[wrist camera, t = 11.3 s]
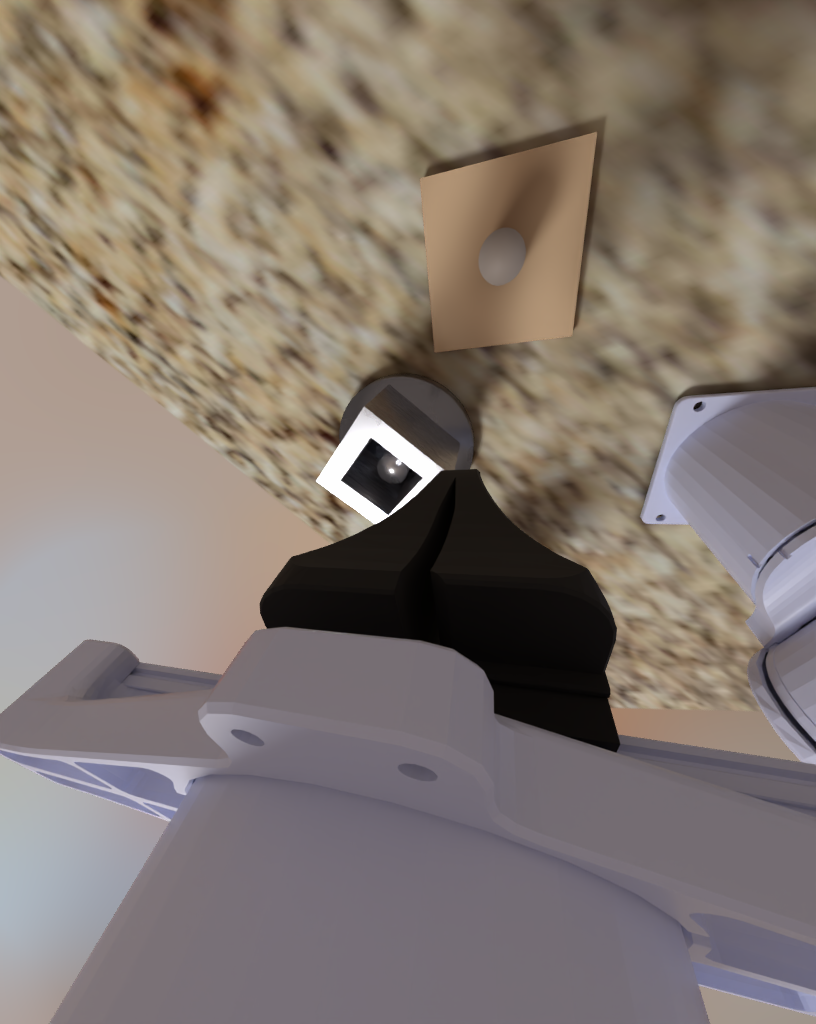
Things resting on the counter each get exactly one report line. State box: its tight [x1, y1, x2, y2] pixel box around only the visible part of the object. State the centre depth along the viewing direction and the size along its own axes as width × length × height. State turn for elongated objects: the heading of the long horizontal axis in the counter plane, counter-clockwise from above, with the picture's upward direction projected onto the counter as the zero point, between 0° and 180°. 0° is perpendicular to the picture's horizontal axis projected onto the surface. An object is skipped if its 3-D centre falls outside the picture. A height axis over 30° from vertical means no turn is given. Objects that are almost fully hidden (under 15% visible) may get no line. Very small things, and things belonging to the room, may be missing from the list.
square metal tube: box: [316, 384, 461, 524], centre depth 19 cm, size 6×6×4 cm
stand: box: [420, 132, 597, 353], centre depth 14 cm, size 7×7×4 cm
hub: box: [339, 374, 474, 484], centre depth 20 cm, size 9×9×4 cm
